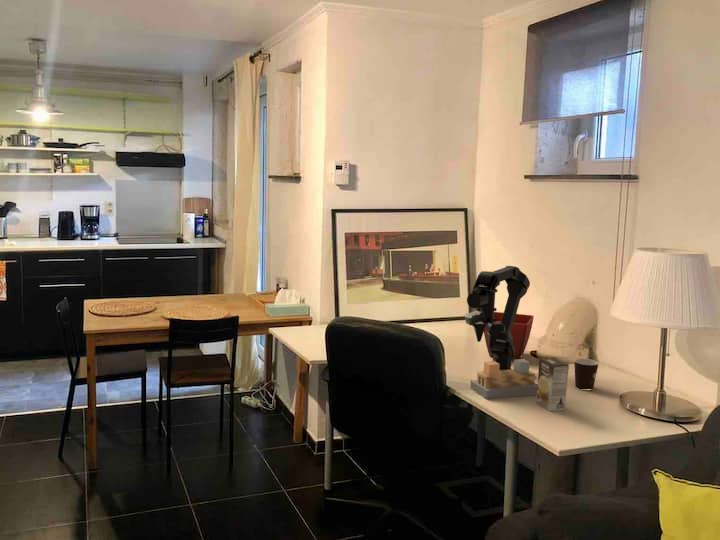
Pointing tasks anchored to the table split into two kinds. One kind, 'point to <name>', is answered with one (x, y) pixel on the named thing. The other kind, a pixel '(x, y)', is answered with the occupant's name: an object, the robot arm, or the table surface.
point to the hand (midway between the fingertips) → (484, 344)
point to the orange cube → (491, 368)
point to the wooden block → (505, 378)
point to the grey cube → (521, 366)
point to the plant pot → (515, 333)
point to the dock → (504, 390)
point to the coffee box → (552, 384)
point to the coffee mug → (585, 373)
